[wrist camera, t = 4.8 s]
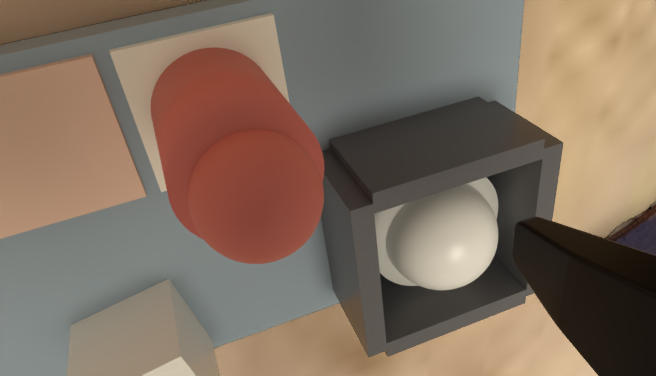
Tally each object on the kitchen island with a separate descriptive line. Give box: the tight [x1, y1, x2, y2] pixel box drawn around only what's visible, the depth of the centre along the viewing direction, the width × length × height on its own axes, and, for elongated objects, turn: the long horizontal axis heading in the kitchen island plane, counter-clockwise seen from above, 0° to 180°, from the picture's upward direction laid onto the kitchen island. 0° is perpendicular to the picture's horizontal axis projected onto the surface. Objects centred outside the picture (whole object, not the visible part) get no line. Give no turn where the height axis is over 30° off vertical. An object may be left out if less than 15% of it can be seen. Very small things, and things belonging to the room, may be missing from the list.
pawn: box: [151, 48, 324, 264], centre depth 14 cm, size 4×4×7 cm
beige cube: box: [67, 279, 220, 376], centre depth 20 cm, size 4×4×4 cm
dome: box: [374, 177, 498, 290], centre depth 21 cm, size 6×6×4 cm
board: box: [0, 0, 524, 376], centre depth 20 cm, size 14×26×2 cm, turn 97°
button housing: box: [321, 96, 563, 357], centre depth 21 cm, size 8×8×4 cm
